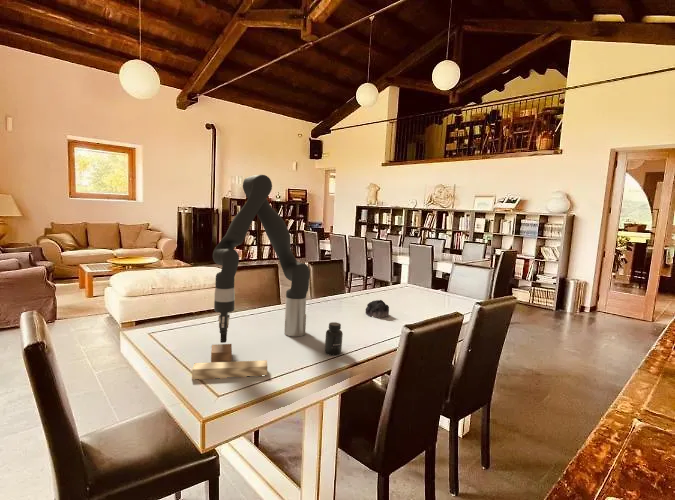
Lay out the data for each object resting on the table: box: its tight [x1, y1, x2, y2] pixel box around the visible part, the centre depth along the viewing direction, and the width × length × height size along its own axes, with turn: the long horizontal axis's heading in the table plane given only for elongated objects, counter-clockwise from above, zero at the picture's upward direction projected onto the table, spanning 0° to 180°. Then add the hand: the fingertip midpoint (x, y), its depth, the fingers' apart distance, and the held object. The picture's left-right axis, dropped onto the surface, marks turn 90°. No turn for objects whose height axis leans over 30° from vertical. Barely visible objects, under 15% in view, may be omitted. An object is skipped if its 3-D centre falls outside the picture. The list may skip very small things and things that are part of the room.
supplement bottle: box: [324, 321, 343, 356], centre depth 148 cm, size 7×7×12 cm
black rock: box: [365, 299, 390, 318], centre depth 207 cm, size 13×14×10 cm
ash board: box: [191, 359, 268, 381], centre depth 124 cm, size 24×5×4 cm, turn 103°
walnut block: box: [210, 343, 233, 363], centre depth 134 cm, size 7×8×5 cm
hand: (223, 341), depth 144 cm, fingers closed
